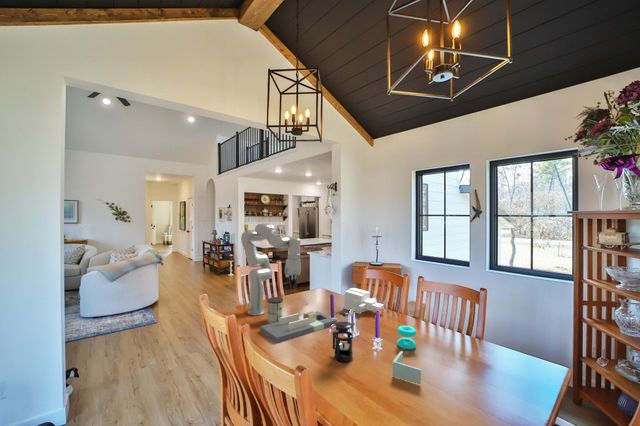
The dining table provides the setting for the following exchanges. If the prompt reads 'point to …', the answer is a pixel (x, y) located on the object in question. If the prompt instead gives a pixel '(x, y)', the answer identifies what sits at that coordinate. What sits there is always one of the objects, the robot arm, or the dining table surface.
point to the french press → (343, 346)
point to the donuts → (406, 332)
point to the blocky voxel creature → (360, 301)
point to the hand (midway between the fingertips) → (292, 285)
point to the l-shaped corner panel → (405, 370)
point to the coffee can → (274, 309)
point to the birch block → (310, 316)
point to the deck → (295, 326)
